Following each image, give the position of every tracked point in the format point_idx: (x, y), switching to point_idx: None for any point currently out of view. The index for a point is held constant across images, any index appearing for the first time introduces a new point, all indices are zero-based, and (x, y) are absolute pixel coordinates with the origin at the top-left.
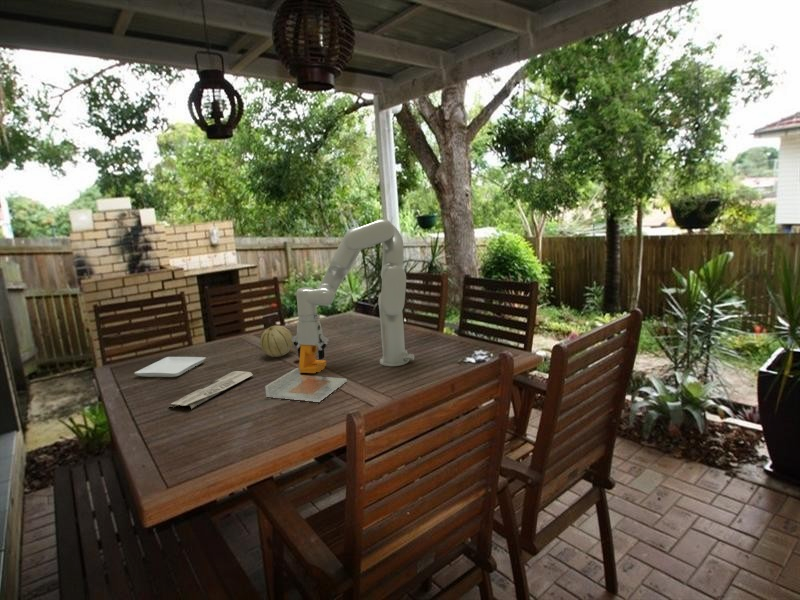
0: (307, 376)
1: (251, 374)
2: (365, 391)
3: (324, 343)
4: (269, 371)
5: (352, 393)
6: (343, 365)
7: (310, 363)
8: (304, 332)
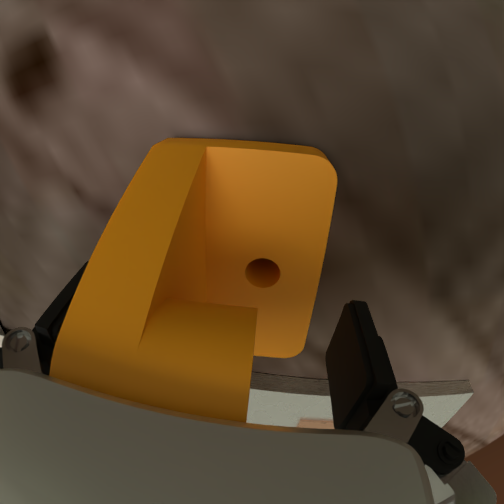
0: (283, 400)
1: (2, 337)
2: (499, 410)
3: (432, 487)
4: (4, 267)
5: (466, 426)
6: (459, 137)
7: (204, 261)
8: None
